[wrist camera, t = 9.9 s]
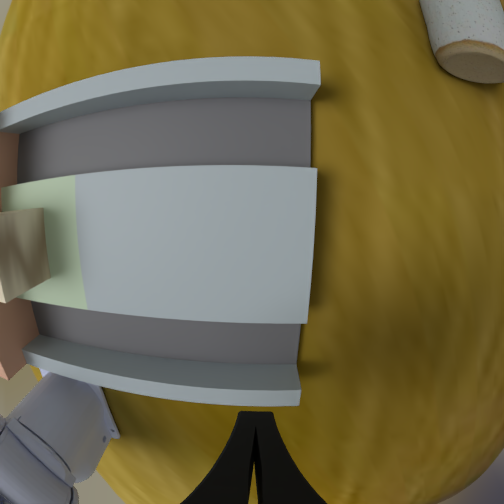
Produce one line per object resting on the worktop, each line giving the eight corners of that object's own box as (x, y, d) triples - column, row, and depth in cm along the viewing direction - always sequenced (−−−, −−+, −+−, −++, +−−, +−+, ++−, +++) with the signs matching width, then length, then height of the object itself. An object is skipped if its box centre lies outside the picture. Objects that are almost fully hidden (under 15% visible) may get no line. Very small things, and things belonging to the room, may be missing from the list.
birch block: (50, 278, 16) (5, 303, 11) (11, 273, 16) (-30, 293, 11) (43, 207, 15) (-8, 217, 10) (4, 211, 15) (-41, 221, 10)
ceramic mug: (417, 68, 15) (479, 33, 7) (399, -6, 13) (440, -50, 5) (502, 104, 15) (559, 94, 7) (484, 34, 13) (530, 12, 5)
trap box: (293, 375, 20) (304, 437, 14) (36, 342, 21) (-1, 375, 14) (308, 81, 15) (333, 35, 9) (15, 121, 16) (-37, 115, 9)
